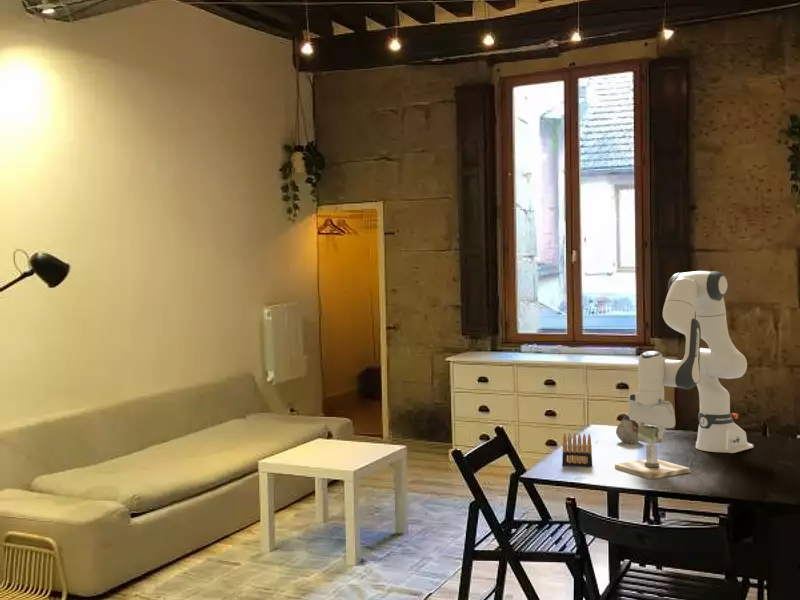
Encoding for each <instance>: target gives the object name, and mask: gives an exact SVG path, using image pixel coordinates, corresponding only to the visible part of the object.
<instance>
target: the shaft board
mask: <svg viewBox="0 0 800 600" xmlns="http://www.w3.org/2000/svg"><path fill="white" fill-rule="evenodd" d="M645 446H646V447H645V449H646V450H645V451H646V455H645V456H646V458H644V459H639V460H633V461H632V460H631V461H628V462H619V463H615V464H614V469H616V470H619V471H622V472H625V473H629V474H632V475H636V476H639V477H642V478H643V479H644V478H645V479H647V480H654V479H655V480H656V479H660V478H666V477H671V476H676V475H682V474H687V473H688V474H689V473H691V472H690V471H691V469H690V467H687V466H683V465H680V464H676V463H672V462H670V461H666V460H661V459H658V445H657V444H655V443H654V444H649V443H648V444H646V445H645Z"/></svg>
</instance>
